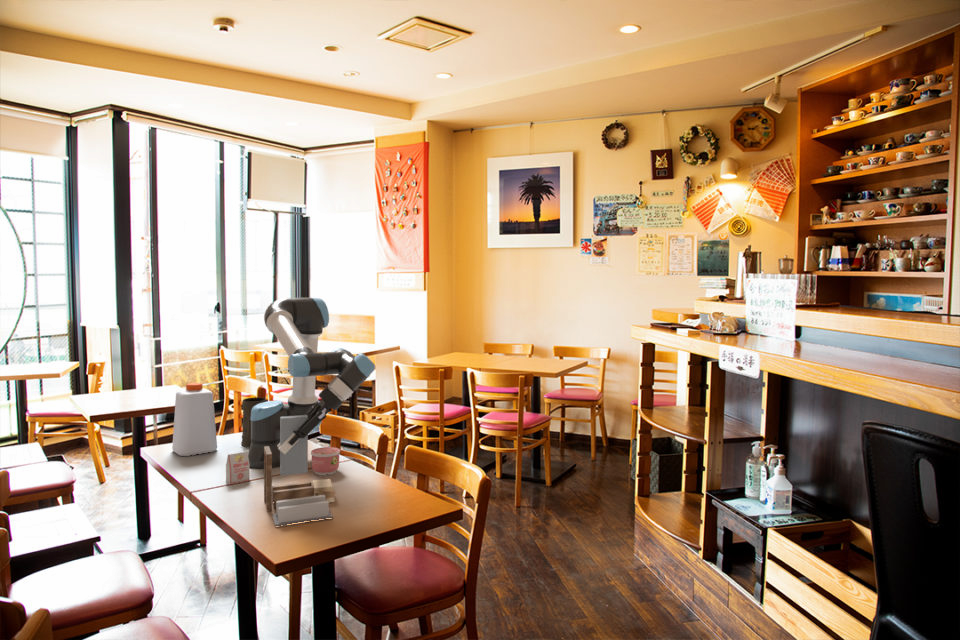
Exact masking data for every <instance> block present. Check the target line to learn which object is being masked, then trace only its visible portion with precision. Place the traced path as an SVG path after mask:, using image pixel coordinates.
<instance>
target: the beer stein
mask: <svg viewBox="0 0 960 640" xmlns="http://www.w3.org/2000/svg"><path fill="white" fill-rule="evenodd" d="M263 402H267V399H266V398H265V397H247V398H243V399H242V402H241V405H242V434H241V442H240V444H241V446H243V447H245V446H246V448H247V447H249V448H250V446H251V410H252V408H253V407H254V406H255V405H257V404H260V403H263Z"/></svg>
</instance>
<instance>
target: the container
mask: <svg viewBox="0 0 960 640" xmlns="http://www.w3.org/2000/svg"><path fill="white" fill-rule="evenodd" d="M340 453H341V449H340V448H338V447H334V446H333V447H332V446H331V447H330V446H325V447H324V446H323V447H317V448H314V449H312V450H311V451H310V455H311V468H312V471H314V474H315V473H316V474H315V475H317V474H319V475H318V476H327V475H326V474H331V475H333V474H332V473H334V472H335V473H337V470H338V469H339V466H340ZM335 473H334V474H335Z"/></svg>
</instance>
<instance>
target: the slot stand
mask: <svg viewBox="0 0 960 640" xmlns="http://www.w3.org/2000/svg"><path fill="white" fill-rule="evenodd" d="M329 506H330V503H329V502H328V501H325V495H319V496H311V497H304V498H296V499H288V500H281V501H276V508H275V509H276V511H275V512H274V513H271V514H272V515H271V516H273V517H272V520H273V519H274V520H273V523H275V524H274V527H275V526H281V525H287V524H292V523H298V522H304V521H311V520H319V519H326V518H333V519H334V517H333V514H332V512H331V510H330V507H329Z"/></svg>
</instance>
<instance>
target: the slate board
mask: <svg viewBox="0 0 960 640" xmlns="http://www.w3.org/2000/svg"><path fill="white" fill-rule="evenodd" d="M307 419H308V416H307V415H299V416H285V417H280V446H281V445H282V444H283V443H284V442H285V441H286V440H287V439H288V438H289V437H290V436H291V435H292V434H293V431H297V430H298V429H299V428H300V427H301V426H302V425H303V423H304V422H305V421H306V420H307ZM308 441H309V435H307V436H305V438H301V439H299V440H298V442H297V443H296V444H295V445H294V446H293V447H292V448H291V449H290V450H289V451H288V452H287V453H286V454H284V453H282V452H281V451H280V466H279V467H280V468H279V469H280V470H279V474H280V476H281V477H282V476H283V477H284V476H292V475H301V474H308V471H309V470H308V458H309V451H308V450H309V445H308V444H309V442H308Z"/></svg>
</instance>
